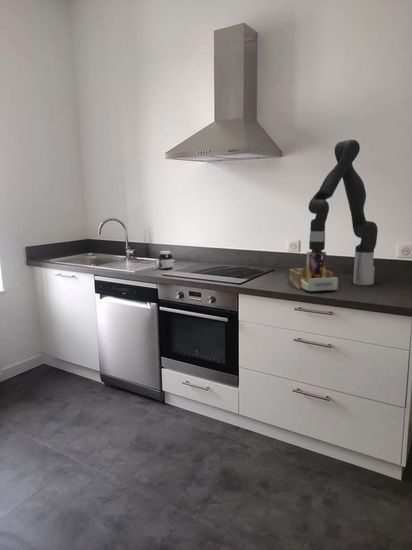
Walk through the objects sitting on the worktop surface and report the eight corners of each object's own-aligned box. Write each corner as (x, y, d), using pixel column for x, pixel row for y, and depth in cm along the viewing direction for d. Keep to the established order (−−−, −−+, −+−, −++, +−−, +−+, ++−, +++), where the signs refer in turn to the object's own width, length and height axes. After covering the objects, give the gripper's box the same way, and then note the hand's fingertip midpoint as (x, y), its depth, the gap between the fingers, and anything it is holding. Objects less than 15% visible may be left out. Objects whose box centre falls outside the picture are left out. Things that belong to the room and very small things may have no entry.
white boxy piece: (325, 283, 215) (325, 272, 214) (338, 290, 201) (339, 278, 200) (297, 285, 213) (298, 274, 212) (309, 291, 199) (310, 279, 198)
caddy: (319, 281, 225) (320, 267, 223) (331, 287, 211) (332, 272, 210) (288, 283, 222) (289, 269, 220) (298, 289, 209) (299, 274, 207)
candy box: (322, 280, 212) (323, 251, 209) (325, 282, 208) (326, 252, 205) (305, 281, 211) (306, 251, 208) (308, 282, 207) (309, 253, 204)
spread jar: (175, 269, 268) (174, 251, 266) (161, 271, 261) (160, 253, 258) (164, 267, 277) (163, 249, 274) (150, 269, 269) (149, 251, 267)
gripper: (330, 241, 199) (329, 276, 202) (318, 238, 213) (316, 270, 216) (316, 242, 198) (314, 276, 201) (304, 238, 212) (303, 271, 215)
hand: (315, 273), depth 209 cm, fingers closed on candy box, 4 cm apart
